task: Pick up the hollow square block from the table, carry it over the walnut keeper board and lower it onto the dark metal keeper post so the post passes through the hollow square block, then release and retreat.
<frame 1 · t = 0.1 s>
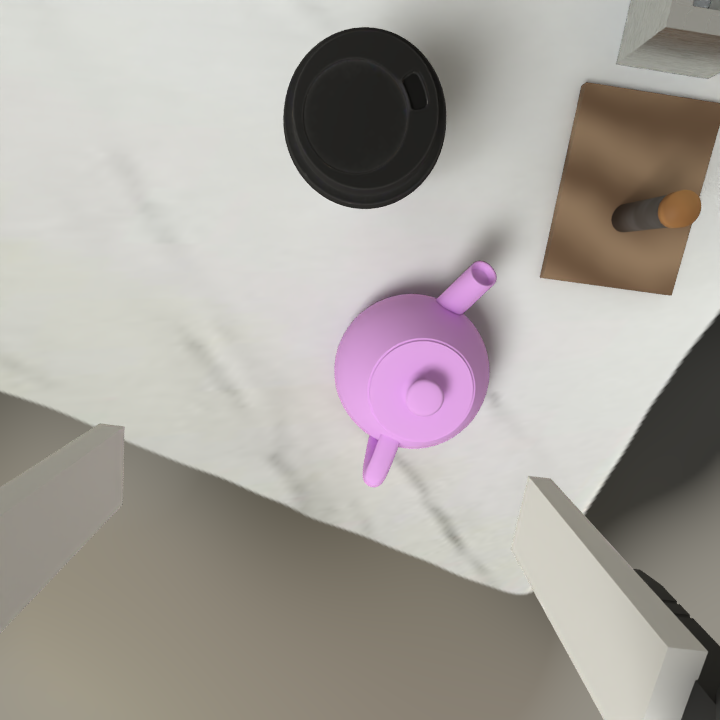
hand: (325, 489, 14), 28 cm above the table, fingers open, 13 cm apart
keeper: (625, 195, 39), on the table
coffee cup: (361, 169, 39), on the table
teapot: (411, 357, 42), on the table
hollow square block: (675, 17, 36), on the table
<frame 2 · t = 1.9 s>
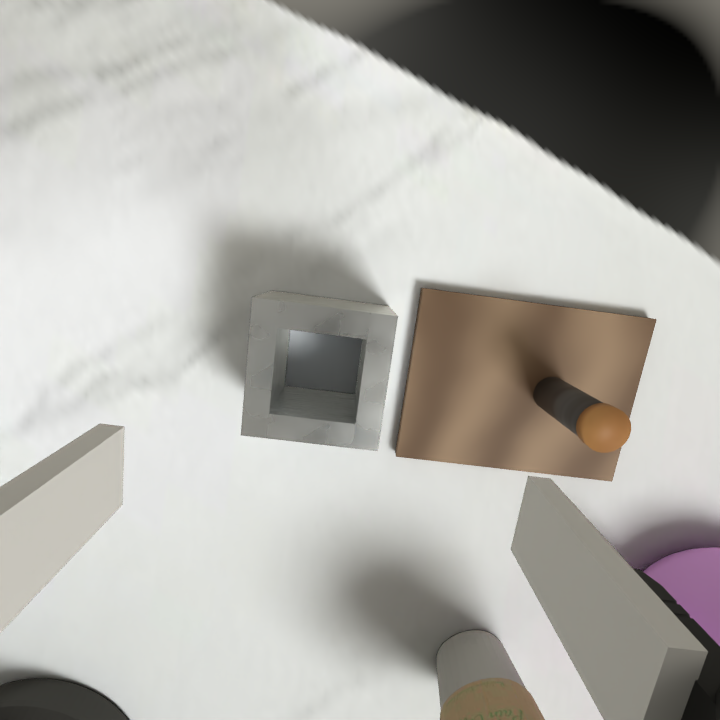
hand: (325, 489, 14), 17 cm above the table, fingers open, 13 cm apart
keeper: (518, 386, 32), on the table
coffee cup: (470, 658, 37), on the table
teapot: (678, 604, 36), on the table
hollow square block: (323, 355, 31), on the table
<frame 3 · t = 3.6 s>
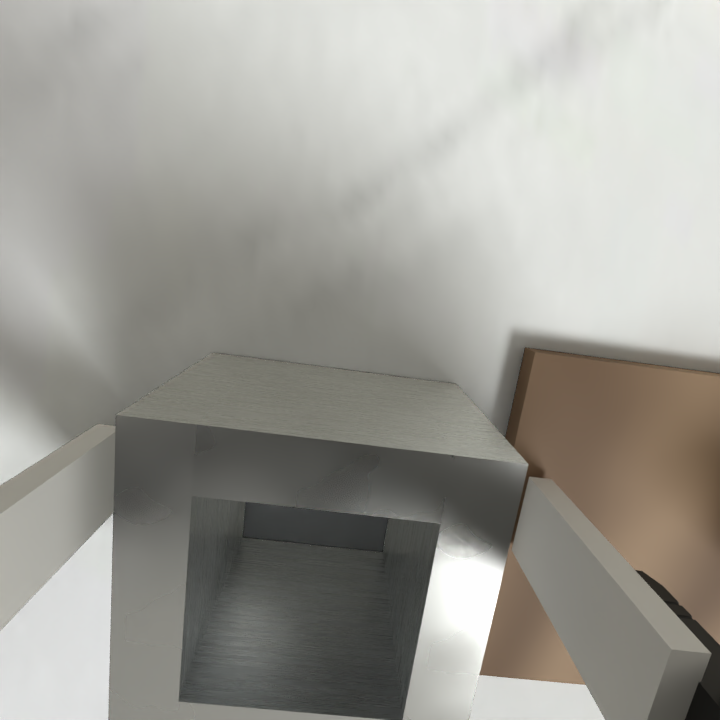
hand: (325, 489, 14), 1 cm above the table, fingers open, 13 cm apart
keeper: (703, 537, 16), on the table
hollow square block: (321, 480, 15), on the table
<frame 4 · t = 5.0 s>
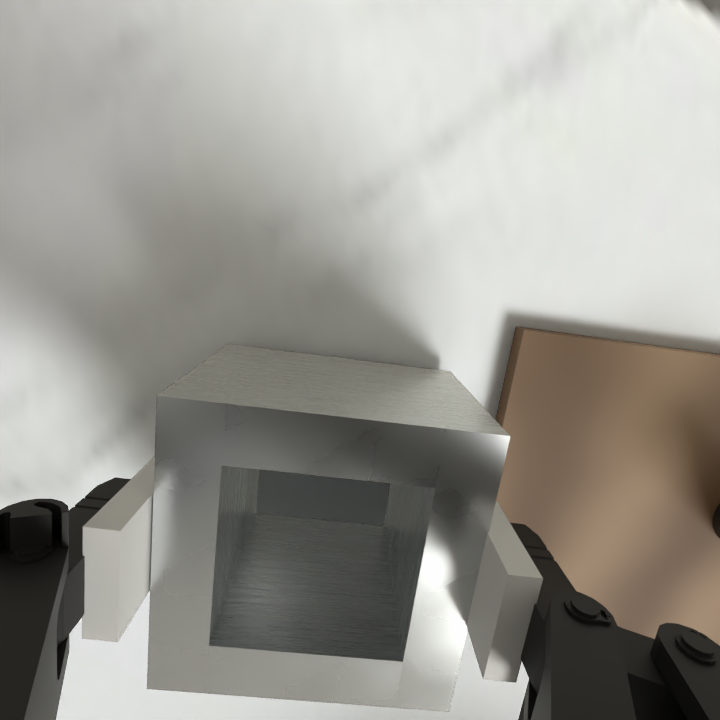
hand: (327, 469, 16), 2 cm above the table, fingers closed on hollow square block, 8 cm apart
keeper: (679, 500, 18), on the table
hollow square block: (327, 460, 17), point 1 cm above the table, touching gripper
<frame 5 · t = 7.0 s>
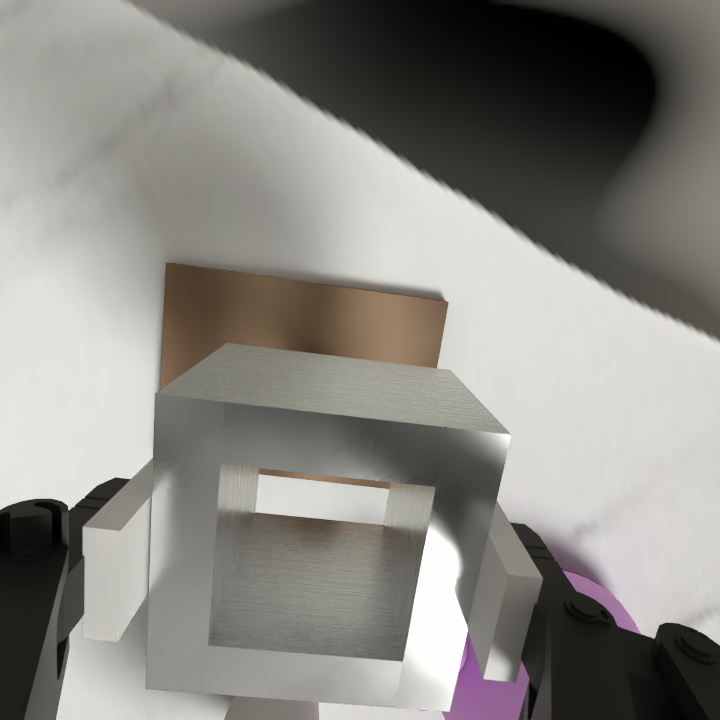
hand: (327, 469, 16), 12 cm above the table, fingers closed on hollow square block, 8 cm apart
keeper: (299, 381, 27), on the table
coffee cup: (278, 692, 32), on the table
teapot: (512, 631, 32), on the table
hollow square block: (327, 459, 17), point 11 cm above the table, touching gripper
when the fingers open (3 cm above the table, at t = 8.7 s): hollow square block drops 1 cm, resting on keeper.
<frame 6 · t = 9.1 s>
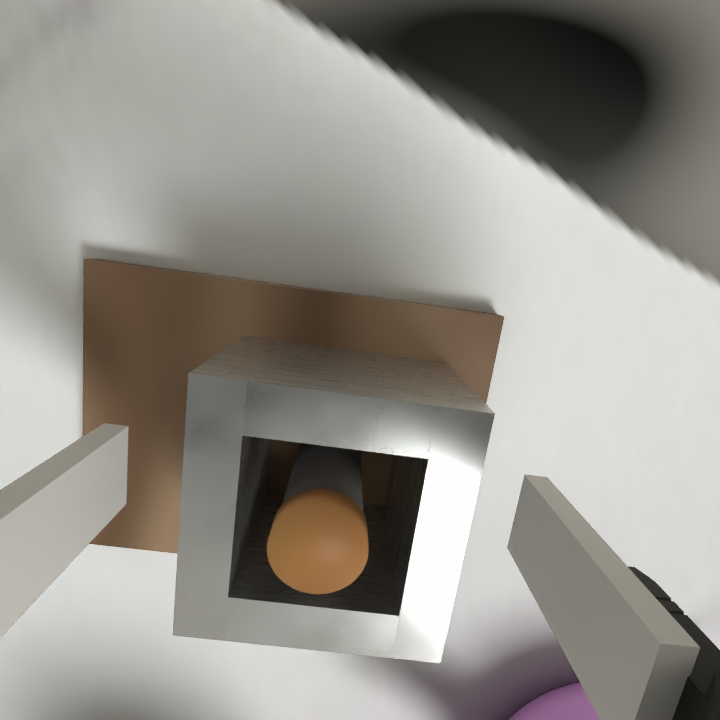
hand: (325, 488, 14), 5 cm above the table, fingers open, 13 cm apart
keeper: (285, 428, 19), on the table
hollow square block: (334, 443, 18), point 1 cm above the table, touching keeper
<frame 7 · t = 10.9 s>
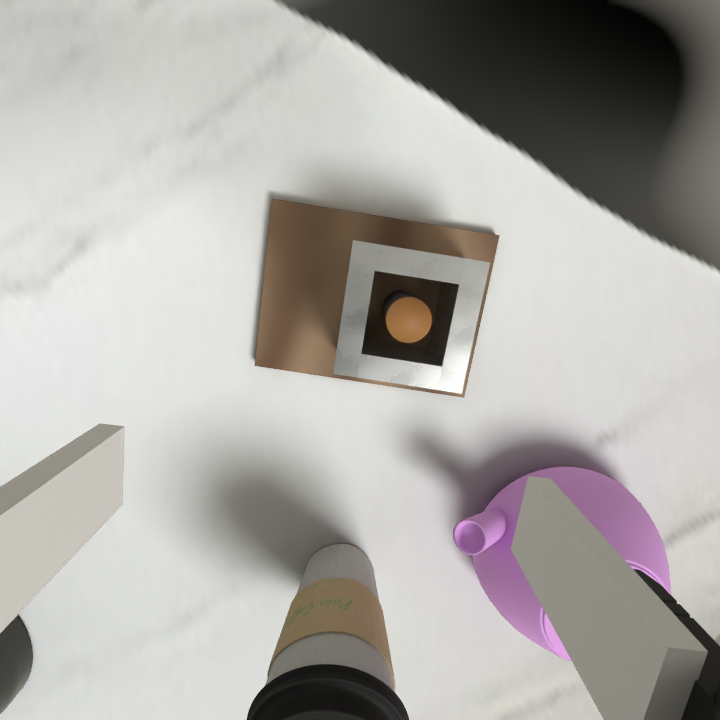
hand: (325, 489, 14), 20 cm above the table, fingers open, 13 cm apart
keeper: (372, 301, 33), on the table
coffee cup: (340, 572, 38), on the table
teapot: (540, 527, 37), on the table
hollow square block: (401, 308, 32), point 1 cm above the table, touching keeper
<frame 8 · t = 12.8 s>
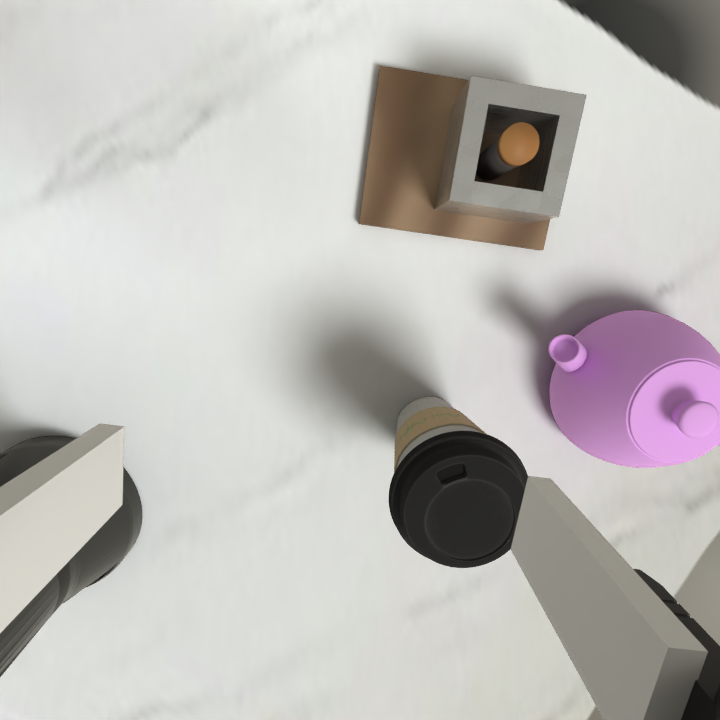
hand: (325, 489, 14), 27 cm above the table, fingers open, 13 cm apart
keeper: (462, 164, 37), on the table
coffee cup: (427, 425, 42), on the table
teapot: (605, 377, 42), on the table
hollow square block: (490, 166, 37), point 1 cm above the table, touching keeper
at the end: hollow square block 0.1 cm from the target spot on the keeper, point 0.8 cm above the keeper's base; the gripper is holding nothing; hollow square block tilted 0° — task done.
